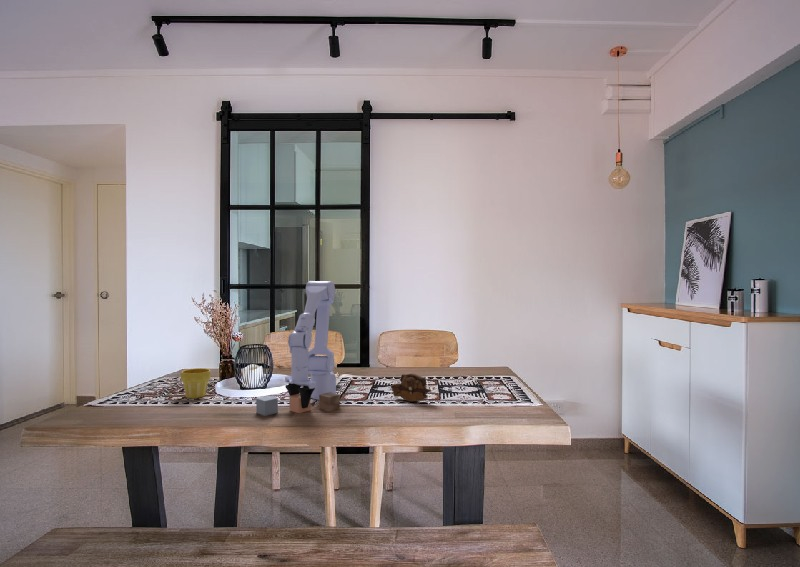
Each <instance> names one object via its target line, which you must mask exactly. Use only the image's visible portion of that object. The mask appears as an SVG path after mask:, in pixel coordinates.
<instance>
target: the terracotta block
mask: <svg viewBox="0 0 800 567" xmlns="http://www.w3.org/2000/svg"><path fill="white" fill-rule="evenodd" d="M289 411H290V412H293V413H296V414H301V413H305V412H309V411H311V400H310V401H309V405H308V407H307V408H302V406H301V397H300V393H299V394H296V395H291V396H290V395H289Z"/></svg>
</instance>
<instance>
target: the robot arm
mask: <svg viewBox="0 0 800 567" xmlns="http://www.w3.org/2000/svg"><path fill="white" fill-rule="evenodd" d="M305 285H306V286H305V293H306V298H307V299H306V303H305V307H304V312H302V313H301V314H299V316H298V320H297V321H296V326H294V327H295V328H294V330H293V331H292V332H291V333H290V334H289V336H288V340H287V344H288V347H289V353H290V354H291V359H290V360H291V361H290V362H291V363H290V364H291V369H290V370H291V371H290V372H291V375H288V376H284V377H285V378H284V382H285V383H288V384H285V389H286V390H287V392H288V394H289V395H288V396H289V397H290V396H291V395H296V394H300V397H301V406H302V408H307V407H308V405H309V401H310V402H311V399H314V400H318V401H319V395H320V394H324V393H328V392H332V393H336V394H337V377H336V374H335V373H334V371H333V370H334V369H335V358H334V357H335V353H334V352H333V351H332V350H331V349H330V348H328V339H329V329H330V328H329V326H330V325H329V324H330V314H331V313H330V312H331V305H332V304H334V302H335V297H336V287H335V286H336V285H335V283H334V282H333V281H332V280H328V281H327V280H326V281H325V280H323V281H322V280H320V281H319V280H317V281H315V280H308V282H306V284H305ZM315 313H316V317H315ZM315 318H316V319H315ZM314 325H315V333H314V344H313V346H314V347H312V349H310V350H309V348H311V344H312V341H313V340H312V339H313V338H312V337H313V333H312V332H313V328H314ZM309 375H310V378H309Z"/></svg>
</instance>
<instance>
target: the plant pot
mask: <svg viewBox="0 0 800 567" xmlns="http://www.w3.org/2000/svg"><path fill="white" fill-rule="evenodd" d="M210 379H211V369H210V368H206V367H205V368H197V367H196V368H187V369H184V370H182V371H181V372H180V381H181V382H182V383H183V389H184V394H185V397H186V398H188V399H199V398H203V397H205V396H206V392H207V389H208V385H209V380H210Z"/></svg>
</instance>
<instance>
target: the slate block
mask: <svg viewBox="0 0 800 567" xmlns="http://www.w3.org/2000/svg"><path fill="white" fill-rule="evenodd" d="M255 400H256V401H255V402H256V406H255V407H256V409H255V410H256V411H255V412H256V414H258V415H261V416H264V417H266V416H270V415H271V416H272V415H273V414H277V413H279V411H278V410H279V401H278V400H279V397H275V396H272V395H267V396H266V395H265V396H262V397H256V399H255Z"/></svg>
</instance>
